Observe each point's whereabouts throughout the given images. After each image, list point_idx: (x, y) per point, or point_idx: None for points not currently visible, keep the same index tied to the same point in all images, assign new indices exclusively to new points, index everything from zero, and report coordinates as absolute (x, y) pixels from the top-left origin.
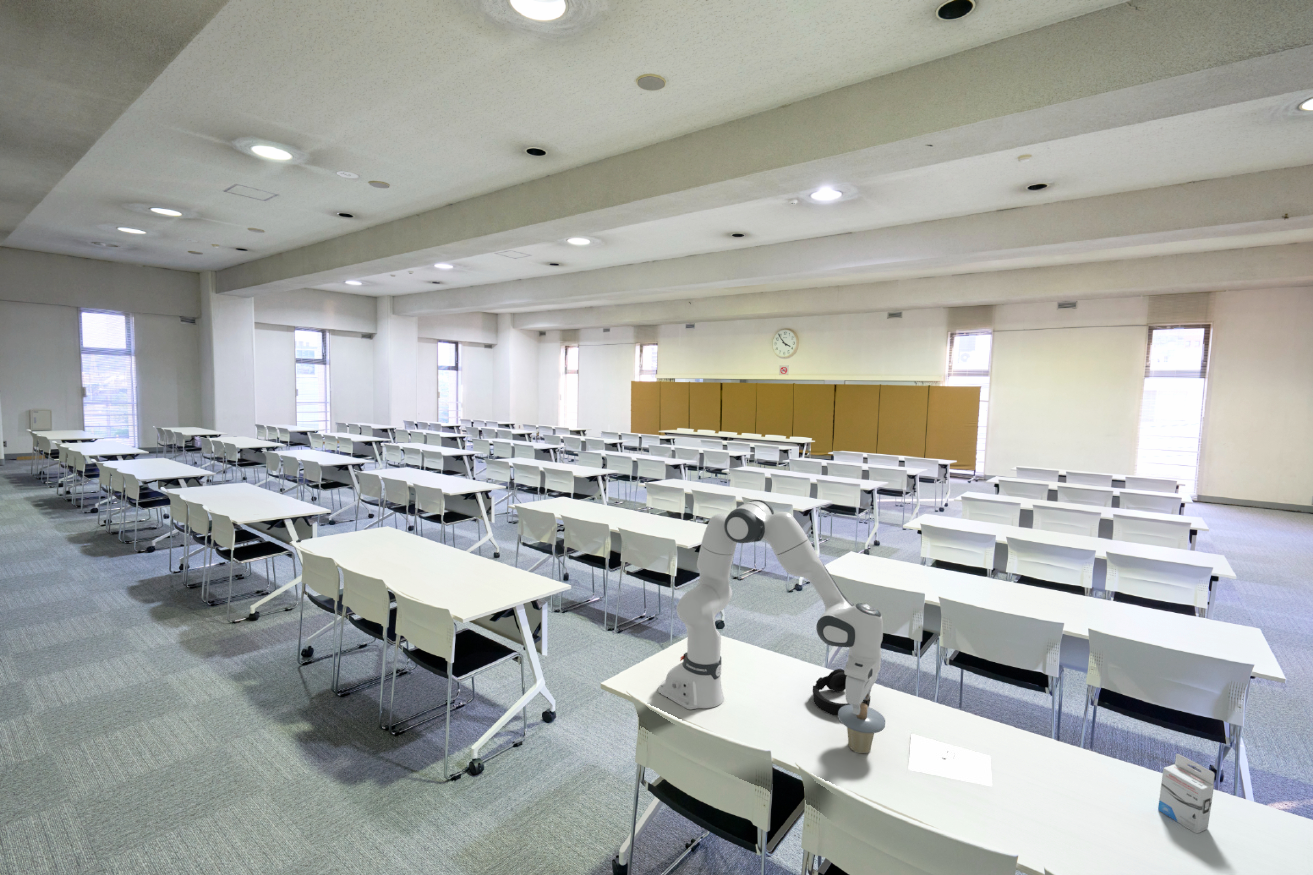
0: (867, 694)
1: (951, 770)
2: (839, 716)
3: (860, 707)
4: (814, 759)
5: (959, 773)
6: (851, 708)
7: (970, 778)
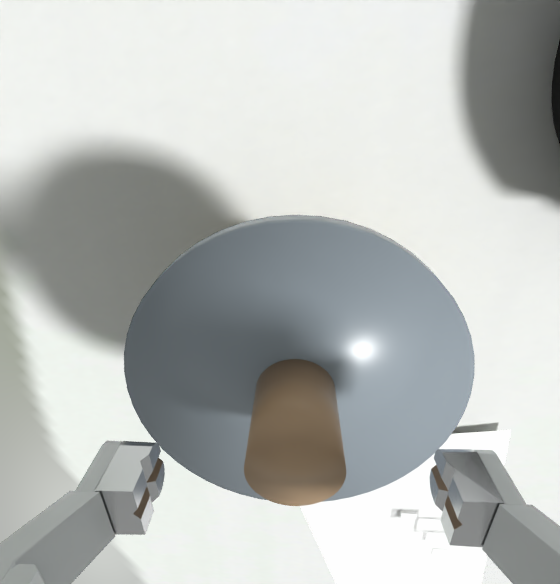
0: (462, 533)
1: (347, 528)
2: (179, 260)
3: (139, 532)
4: (45, 132)
5: (346, 540)
6: (373, 304)
7: (340, 557)
